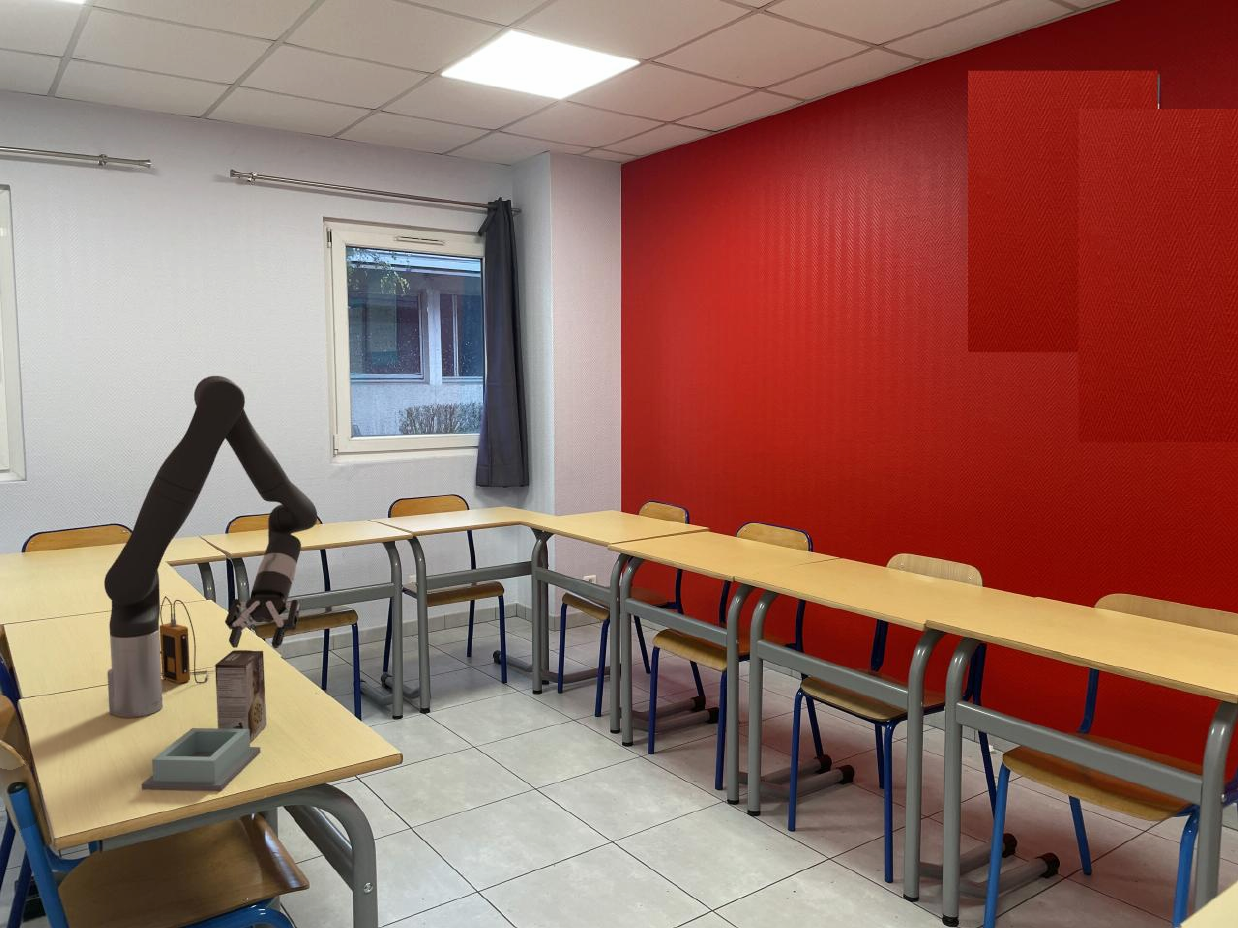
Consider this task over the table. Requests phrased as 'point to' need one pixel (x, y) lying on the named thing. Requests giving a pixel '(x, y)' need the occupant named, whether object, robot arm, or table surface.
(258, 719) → the coffee box
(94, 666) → the table surface
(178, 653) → the multimeter
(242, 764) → the box
